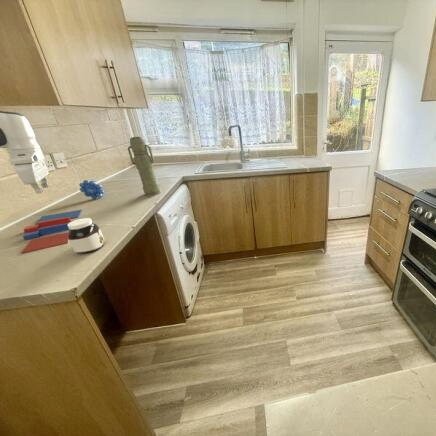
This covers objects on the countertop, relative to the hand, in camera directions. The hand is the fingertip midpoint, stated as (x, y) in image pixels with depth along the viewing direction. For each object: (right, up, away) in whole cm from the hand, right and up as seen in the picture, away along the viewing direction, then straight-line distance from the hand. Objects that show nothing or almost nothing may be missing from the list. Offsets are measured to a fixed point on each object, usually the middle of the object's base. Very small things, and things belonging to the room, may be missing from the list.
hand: (43, 190), depth 101 cm
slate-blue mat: (-14, -11, +22) cm, 29 cm away
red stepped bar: (-9, -16, +13) cm, 22 cm away
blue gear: (-18, 0, +49) cm, 52 cm away
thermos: (+16, +3, +53) cm, 56 cm away
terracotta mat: (+5, -21, -1) cm, 22 cm away
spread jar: (+25, -24, -7) cm, 35 cm away
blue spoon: (-2, -18, +7) cm, 19 cm away
